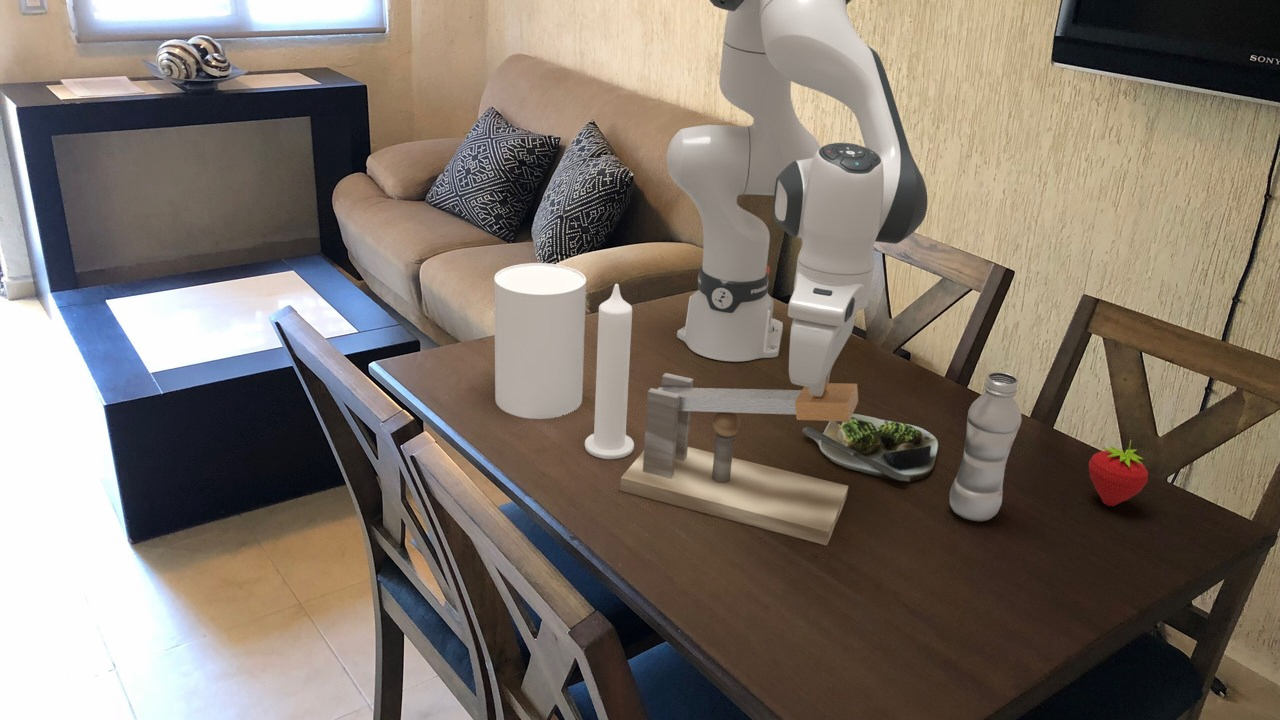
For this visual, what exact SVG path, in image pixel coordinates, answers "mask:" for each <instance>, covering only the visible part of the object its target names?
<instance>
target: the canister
mask: <svg viewBox="0 0 1280 720" xmlns="http://www.w3.org/2000/svg"><path fill="white" fill-rule="evenodd" d="M493 281H494V282H493V283H494V284H493V285H494V286H493V288H494V295H493V296H494V380H495V381H494V383H495V385H494V389H495V390H494V391H495V393H494V394H495V395H494V399H495V400H494V401H495V403H496V405H497V407H498V408H499V409H500V410H502V411H504V412H505V413H507V414H510V415H511V416H512V415H513V416H516V417H519V418H523V419H532V420H544V419H545V420H546V419H547V420H548V419H555V417H556V418H559V417H563V416H562V415H564V416H566V414H567V415H569V414H571V413H573V412H575V411H576V410H577V409H579V407H580V406H581V405H582V403H583V390H584V388H583V387H584V385H583V384H584V357H585V355H584V354H585V353H584V352H585V350H584V349H585V327H586V326H585V323H586V321H585V320H586V292H587V277H586V276H585V274H583V273H582V272H581V271H579V270H577V269H575V268H573V267H569V266H565V265H562V264H557V263H556V264H555V263H546V262H529V263H528V262H527V263H520V264H515V265H511V266H508V267H507V266H506V267H505V268H502V269H501V270H498V271H497V272H496V273H495V275H494V278H493ZM574 410H575V411H574ZM572 411H573V412H572ZM570 412H571V413H570ZM568 413H569V414H568Z"/></svg>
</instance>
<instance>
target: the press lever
mask: <svg viewBox="0 0 1280 720" xmlns="http://www.w3.org/2000/svg"><path fill="white" fill-rule="evenodd" d="M657 389H658V390H662V391H666V392H671V393H675V394H680V400H679V411H691V412H702V413H703V412H704V413H717V412H732V413H737V414H739V413H740V414H763V415H764V414H765V415H766V414H771V415H772V414H773V415H796V420H798V421H821V422H822V421H824V422H825V421H827V422H830V421H849V420H850V418H851V416H852V414H854V412H855V409H856V408H857V405H858V403H859V392H858V391H859V390H858V383H845V382H844V383H842V382H841V383H838V382H836V383H834V382H833V383H832V382H828V387H827V388H826V390H825V392H824V394H823V395H822V396H821V397H818V396H813V395H810V394H809V387H805V386H803V388H802V389H761V388H758V389H757V388H720V387H719V388H715V387H714V388H713V387H708V388H706V387H693V388H675V387H660V386H659V387H658V388H657Z"/></svg>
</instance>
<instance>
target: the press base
mask: <svg viewBox="0 0 1280 720" xmlns="http://www.w3.org/2000/svg"><path fill="white" fill-rule="evenodd" d="M661 387H675V388H694V378H691V377H685V376H682V375H676V374H672V373H667V372H665V373H664V374H663V375H662V376H661ZM679 400H680V394H675V393H671V392H666V391H662V390H658V388H653V387H651V388H650V389H649V390H648V391H647V398H646V414H645V416H646V417H645V429H644V443H643V451H642V452H641V453H640V455H638V457H637V458H636V459H635V461H633V463H632V464H631V465H630V466H629V467H628V468H627V470H626V471H625V472H624V473H623V475H622V476H621V477H620V484H619V485H620V487H619V489H620V491H621V492H624V493H628V494H631V495H634V496H639V497H642V498H643V497H644V498H646V499H650V500H655V501H657V502H662V503H665V504H669V505H672V506H673V505H674V506H677V507H680V508H685V509H688V510H692V511H696V512H698V513H703V514H706V515H710V516H714V517H717V518H721V519H726V520H729V521H733V522H736V523H740V524H744V525H749V526H751V527H752V526H753V527H756V528H759V529H763V530H766V531H769V532H770V531H771V532H775V533H779V534H782V535H787V536H789V537H793V538H796V539H801V540H804V541H808V542H812V543H816V544H820V545H822V546H823V545H824V546H828V545H829V541H830V539H831V537H832V535H833V532H834V530H835V527H836V524H837V522H838V520H839V518H840V515H841V513H842V510H843V508H844V505H845V503H846V500H847V497H848V492H849V485H845V484H842V483H837V482H834V481H830V480H825V479H821V478H817V477H813V476H809V475H804V474H801V473H797V472H792V471H788V470H785V469H780V468H776V467H774V466H773V467H772V466H768V465H764V464H760V463H756V462H751V461H747V460H744V459H739V458H735V457H733V452H734V442H735V434H737V433H738V431H739V430H740V427H741V418H740V416H739V415H738V413H732V412H715V414H714V416H713V419H712V427H713V430H714V431H715V432H716V433H715V441H714V442H715V444H714V451H713V452H712V451H711V452H710V451H706V450H703V449H699V448H695V447H690V446H689V445H688V444H689V436H690V435H689V433H690V422H691V413H692V411H679Z"/></svg>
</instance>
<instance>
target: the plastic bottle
mask: <svg viewBox="0 0 1280 720" xmlns="http://www.w3.org/2000/svg"><path fill="white" fill-rule="evenodd" d="M1018 385H1019V383H1018V378H1017V377H1016V376H1015V375H1012V374H1010V373H1006V372H1001V371H1000V372H999V371H996V372H995V371H994V372H991V373H988V374H987V376H986V381H985V384H984V386H983V389H984V390H983V391H985V392H984V393H982V394H981V395H980V396H978V397H977V399H975V400H974V401H973V402H972V403H971V405H970V407H969V409H968V410H967V411H968V412H967V413H968V414H967V420H966V438H965V443H964V450H963V455H962V456H963V457H962V459H961V462H960V466H959V467H958V471H957V474H956V477H955V479H954V481H953V482H952V485H951V487H950V489H949V505H950V507H951V510H952V511H953V512H954V513H955V515H957V516H959V517H961V518H963V519H965V520H969V521H973V522H985V521H986V522H987V521H989V520H991V519H992V518H993V517H995V516H996V515H997V514H998V512H999V511H1000V508H1001V506H1002V504H1003V494H1004V492H1003V488H1004V487H1003V484H1004V478H1005V470H1006V465H1007V462H1008V457H1009V454H1010V452H1011V448H1012V445H1013V443H1014V441H1015V438H1016V436H1017V434H1018V431H1019V429H1020V427H1021V425H1022V412H1021V410H1020V408H1019V405H1018V404H1017V402H1016V400H1015V398H1014V397H1016V395H1017V391H1018V390H1017V389H1018Z"/></svg>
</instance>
